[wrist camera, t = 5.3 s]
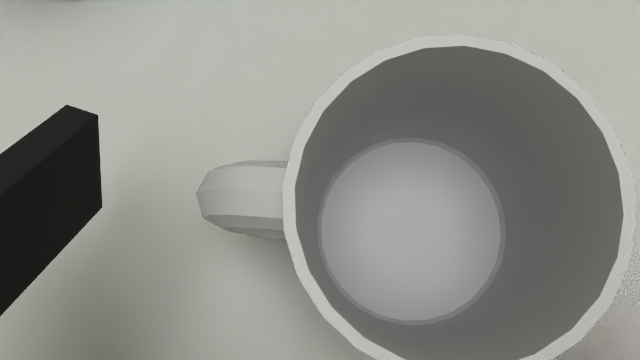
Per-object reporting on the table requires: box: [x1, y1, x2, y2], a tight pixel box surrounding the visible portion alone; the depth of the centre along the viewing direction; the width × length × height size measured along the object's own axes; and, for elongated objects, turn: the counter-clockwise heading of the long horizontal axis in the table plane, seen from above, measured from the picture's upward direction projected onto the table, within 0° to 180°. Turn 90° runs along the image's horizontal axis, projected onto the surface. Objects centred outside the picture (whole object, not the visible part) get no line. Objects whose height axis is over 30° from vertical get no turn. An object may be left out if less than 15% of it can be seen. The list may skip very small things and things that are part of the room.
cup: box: [196, 34, 637, 360], centre depth 16 cm, size 7×10×9 cm
